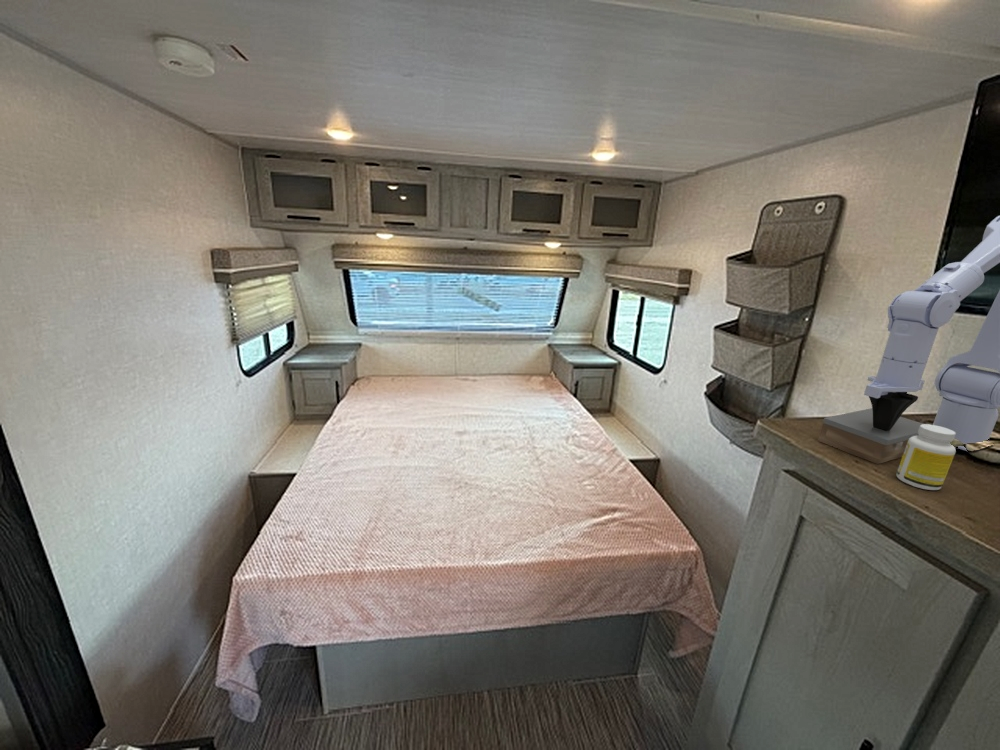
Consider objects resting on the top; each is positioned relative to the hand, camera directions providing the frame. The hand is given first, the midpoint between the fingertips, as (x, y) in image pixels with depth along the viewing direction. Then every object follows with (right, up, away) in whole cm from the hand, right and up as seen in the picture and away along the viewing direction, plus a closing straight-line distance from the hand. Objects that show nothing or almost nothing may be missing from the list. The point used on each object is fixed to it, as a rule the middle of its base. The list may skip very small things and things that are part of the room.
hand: (881, 428), depth 75 cm
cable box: (+2, -4, +4) cm, 6 cm away
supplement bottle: (-2, -8, -9) cm, 12 cm away
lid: (+2, 0, +3) cm, 4 cm away
